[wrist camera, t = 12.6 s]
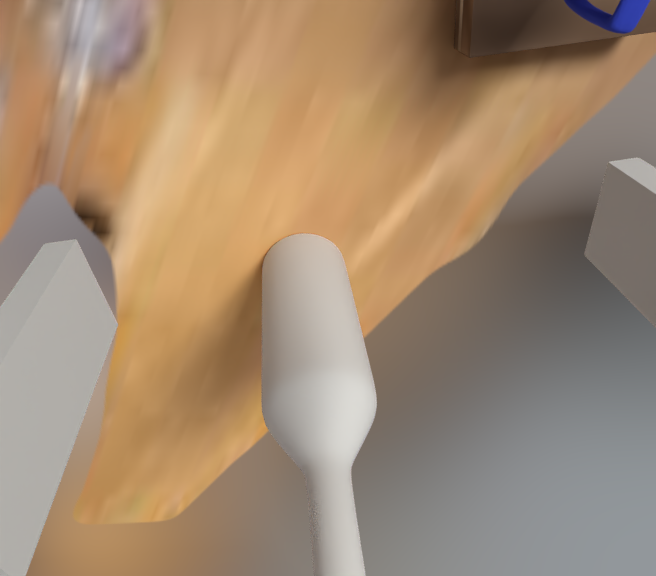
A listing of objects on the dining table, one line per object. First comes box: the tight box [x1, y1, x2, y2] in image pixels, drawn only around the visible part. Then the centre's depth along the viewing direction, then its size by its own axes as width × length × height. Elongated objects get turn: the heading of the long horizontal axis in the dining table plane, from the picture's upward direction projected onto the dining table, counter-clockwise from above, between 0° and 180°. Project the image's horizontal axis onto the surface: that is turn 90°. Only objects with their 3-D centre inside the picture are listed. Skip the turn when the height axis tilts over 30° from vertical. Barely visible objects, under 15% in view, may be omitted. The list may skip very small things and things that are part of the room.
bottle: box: [262, 233, 377, 576], centre depth 35 cm, size 8×8×30 cm
